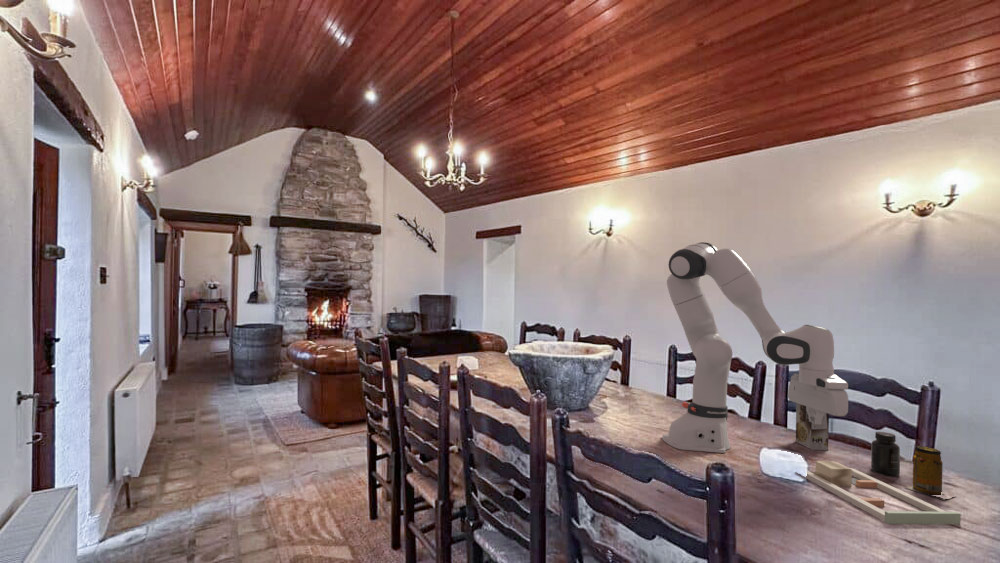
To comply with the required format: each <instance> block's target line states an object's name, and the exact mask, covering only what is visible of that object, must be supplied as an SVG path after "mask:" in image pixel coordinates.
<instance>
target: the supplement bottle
mask: <svg viewBox="0 0 1000 563" xmlns="http://www.w3.org/2000/svg"><path fill="white" fill-rule="evenodd" d="M874 437H875V438H874V439H875V440H873V441H871V444H870V446H871V447H870V448H871V450H870V454H871V455H870V456H871V459H870V462H871V463H870V464H871V465H870V466H871V470H872V471H873V472H874V473H876V474H878V475H882V476H888V477H899V476H900V474H901V449H900V446H899V445H898V444H897V443H896V441H897V440H896V435H895V434H893V433H890V432H885V431H875V434H874Z"/></svg>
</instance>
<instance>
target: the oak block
mask: <svg viewBox="0 0 1000 563" xmlns="http://www.w3.org/2000/svg"><path fill="white" fill-rule="evenodd" d="M814 474H815V475H817V476H819V477H821V478H823V479H825V480H826V481H828V482H830V483H832V484H834V485H836V486H838V487H852V478H853V476H852V469H850V467H848V466H846V465H844V464H841V463H839V462H837V461H833V460H831V461H830V460H815V473H814Z"/></svg>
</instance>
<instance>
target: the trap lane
mask: <svg viewBox="0 0 1000 563" xmlns="http://www.w3.org/2000/svg"><path fill="white" fill-rule="evenodd" d="M849 468H850V467H849ZM850 469H852V483H851V485H853V486H854V485H855V486H857V487H858V488H864V489H865V488H869V489H870V488H871V489H872V488H874V489H875V488H877V489H879V490H881V491H883V492H885V493H886V494H888V495H892V496H893V497H895V498H897V499H900V500H902V501H904V502H905V503H909V504H910V505H913V506H914V507H916V508H918V509H921V510H922V511H918V510H917V511H913V510H912V511H911V510H909V511H906V510H884V509H881V508H880V507H885V500H883V499H882V498H880V497H858V496H856V495H855V494H853V493H851V492H849V491H847V490H845V489H843V488H841V486H836V485H834V484H832V483H830V482H828V481H826V480H825V479H823V478H821V477H819V476H817V475H815V473H813V472H812V471H809V470H807V469H806V470H807V476H806V478H805V479H807V480H808V481H810V482H812V483H814V484H816V485H818V486H820V487H821V488H823V489H825V490H827V491H828V492H830V493H832V494H834V495H836V496H837V497H839V498H840V499H842V500H843V501H844V500H845V501H846V502H848V503H849V504H852V505H853V506H856V507H858V508H859V509H861V510H862V511H865V512H866V513H868V514H870V515H872V516H874V517H876V518H877V519H879V520H881V521H882V522H884V523H886V524H888V525H961V519H962V518H961V517H962V516H961V515H962V514H961V513H960V512H958V511H946V510H944V509H942V508H940V507H938V506H936V505H933V504H931V503H929V502H926V500H922V499H921V498H918V497H916V496H914V495H912V494H909V493H907V492H906V491H903V490H901V489H899V488H897V487H894V486H892V485H890V484H888V483H885V482H883V481H882V480H879V479H877V478H875V477H874V476H873V477H872V476H870V475H868V474H866V473H865V472H862V471H860V470H858V469H855V468H852V467H851V468H850Z"/></svg>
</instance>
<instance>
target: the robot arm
mask: <svg viewBox="0 0 1000 563" xmlns="http://www.w3.org/2000/svg"><path fill="white" fill-rule="evenodd" d="M668 269H669V272H670V273H671V274H670V275H668V277H667V279H666V285H667V291H668V294H669V297H670V299H671V302H672V305H673V307H674V309H675V312H676V313H677V314H676V315H677V316H678V318H679V320H680V323H681V325H682V328H683V330H684V333H685V334H684V335H685V337H686V339H687V342H688V345H689V347H690V349H691V352H692V355H693V356H694V357H695V360H696V361H695V362H696V363H695V367H694V368H695V369H694V375H693V380H692V401H691V402H690V403H688V402H686V401H682V402H681V406H682V408H683V409H684V408H685V409H687V411H686V412H685V413H684V414H682V415H681V416H679V417H677V418H676V419H675V420H673V421H671V423H670V425H669V430H668V433H664V434H662V437H661V439H662V440H663V441H664V443H666V444H668V445H669V446H671V447H673V448H675V449H678V450H683V451H695V452H709V453H722V454H725V453H726V450H730V448H731V444H730V440H729V435H728V427H727V421H728V416H729V414H728V412H729V411H728V408H729V407H728V405H727V402H728V401H727V400H728V399H727V398H728V396H727V395H728V380H729V375H730V370H731V363H732V358H733V349H732V346H731V344H730V343H729V342H728V340H727V339H725V338H723V337H721V335H720V332H719V331H718V330H719V329H718V328H717V324H716V321H715V317H714V314H713V311H712V309H711V307H710V304H709V303H708V300H707V298H706V296H705V294H704V291H703V289H702V287H701V283H700V278H701V277H704V276H706V275H708V276H709V277H711V278H712V279H713V281H714V282H715V284H716V285H717V286H718V288H719V290H720V291H721V293H722V294H723V295H724V296H725V297H726V299H727V300H728V301H729V302H730V303H731V304H733V306H735V307H736V308H738V309H739V310H740V311H742V313H744V314H745V316H746V317H747V318H748V320H749V321H750V323H751V324H752V326H753V327H754V328H755V330H756V332H757V333H758V335H759V337H760V338H761V343H762V344H761V345H762V350H763V352H764V354H765V355H766V356H767V358H769V360H771V361H772V362H774V363H776V364H777V365H781V366H790V365H798V367H799V368H798V373H797V372H796V373H794V374H792V375H791V377H790V381H789V384H788V390H787V398H788V400H789V401H790V402H793V403H798V404H801V405H804V406H806V411H807V413H808V415H809V421H810V422H812V423H815V424H818V425H820V424H821V423H822V418H823V416H824V415H825V413H828V414H829V415H831V416H834V417H845V416H847V415H848V413H849V396H848V393H847V390H848V389H849V383H848V382H847V381H846V380H844V379H842V378H841V377H839V375H837V374H835V369H834V368H835V367H834V366H833V360H834V358H835V341H834V335H833V333H832V332H831V330H829V329H828V328H825V327H821V326H818V325H817V326H816V325H812V324H803V325H802V326H800V327H798V328H795V329H793V330H791V331H790V330H789V331H788V332H786V331H784V330H783V329H782V328H780V326H779V325H778V324H777V322H776V321H775V319H774V318H773V317H772V315H771V314H770V312H769V311H768V308H767V307H766V305H765V303H764V300H763V293H762V287H761V285H760V283H759V281H758V280H757V279H758V278H757V277H756V276H755V274H754V273H753V271H752V270H751V268H750V267H749V265H747V263H746V261H744V260H743V258H742V257H740V255H739V254H738V253H736V251H734V249H731V248H720V249H718V248H717V247H716V246H715V245H714V244H712V243H710V242H705V241H704V242H697V243H694V244H693V243H692V244H689V245H687V246H684V248H681V249H678V250H676V251H675V252H674V253H672V255H671V256H670V258H669V261H668ZM815 413H816V415H815Z"/></svg>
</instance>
